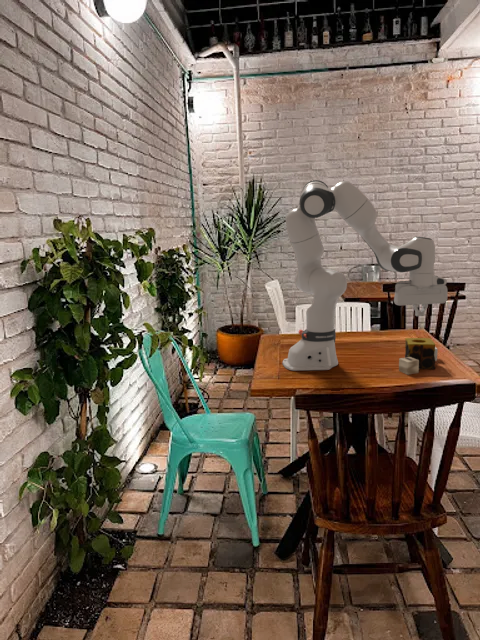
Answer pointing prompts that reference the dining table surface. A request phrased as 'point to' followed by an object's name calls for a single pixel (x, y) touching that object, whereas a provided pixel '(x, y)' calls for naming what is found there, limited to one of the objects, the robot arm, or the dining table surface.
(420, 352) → the candle
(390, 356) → the dining table surface
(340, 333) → the dining table surface
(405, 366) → the beech block marked
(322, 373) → the dining table surface
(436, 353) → the cream block marked
